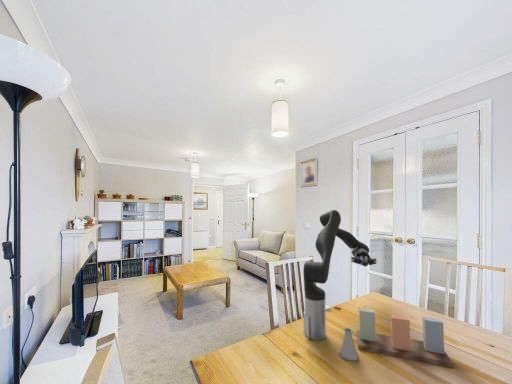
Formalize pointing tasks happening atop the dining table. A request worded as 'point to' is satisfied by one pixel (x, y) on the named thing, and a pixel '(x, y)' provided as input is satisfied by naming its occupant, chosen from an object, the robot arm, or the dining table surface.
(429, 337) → the slate tab
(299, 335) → the dining table surface
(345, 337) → the flask
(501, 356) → the dining table surface
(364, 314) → the sage tab
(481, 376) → the dining table surface
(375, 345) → the brown wooden flat board
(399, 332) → the terracotta tab
